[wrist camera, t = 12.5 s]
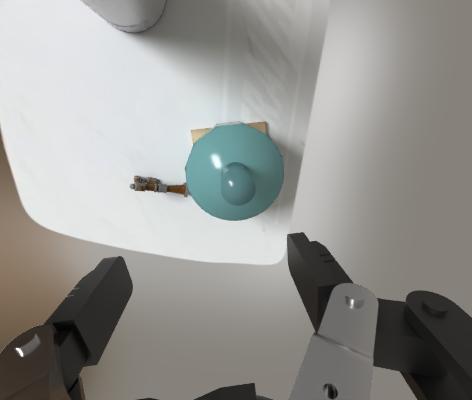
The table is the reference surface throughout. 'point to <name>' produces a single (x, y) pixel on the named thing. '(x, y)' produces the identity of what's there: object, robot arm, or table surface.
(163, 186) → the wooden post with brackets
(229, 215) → the teal lid with knob
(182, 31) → the table surface
